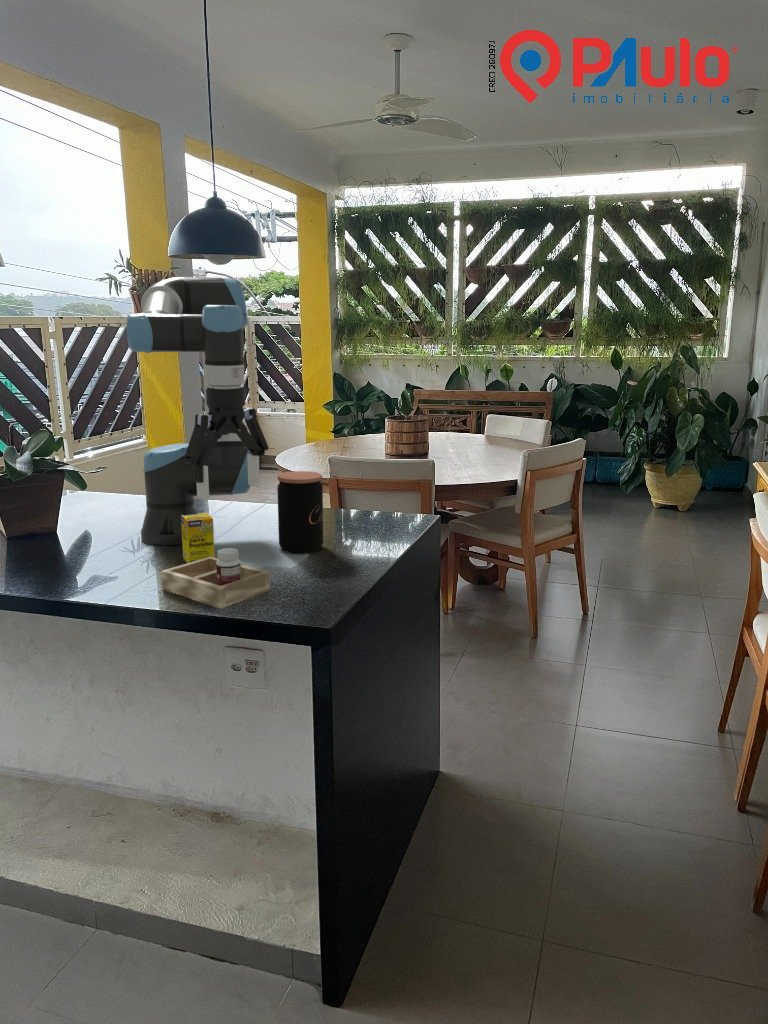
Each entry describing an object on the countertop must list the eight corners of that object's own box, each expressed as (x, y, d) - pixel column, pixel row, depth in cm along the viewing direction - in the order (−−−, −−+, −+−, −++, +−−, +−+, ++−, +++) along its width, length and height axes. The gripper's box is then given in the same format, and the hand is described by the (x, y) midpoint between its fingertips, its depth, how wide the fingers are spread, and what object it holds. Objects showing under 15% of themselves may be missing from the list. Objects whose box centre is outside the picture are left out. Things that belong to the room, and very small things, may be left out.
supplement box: (189, 568, 168) (186, 520, 166) (182, 561, 173) (180, 514, 171) (215, 565, 171) (213, 517, 168) (208, 558, 176) (206, 512, 174)
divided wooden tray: (162, 589, 155) (161, 571, 154) (211, 573, 165) (210, 556, 164) (221, 608, 144) (220, 588, 144) (269, 590, 155) (269, 572, 154)
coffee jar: (316, 555, 178) (315, 480, 174) (272, 552, 180) (270, 478, 176) (328, 543, 188) (327, 472, 184) (287, 541, 191) (285, 470, 186)
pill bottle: (219, 587, 154) (217, 547, 152) (242, 586, 155) (241, 547, 153) (215, 595, 150) (213, 554, 148) (240, 594, 150) (238, 554, 148)
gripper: (186, 393, 137) (192, 507, 143) (283, 383, 157) (285, 483, 162) (160, 390, 142) (167, 500, 147) (258, 380, 161) (261, 478, 167)
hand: (229, 491), depth 155 cm, fingers open, 13 cm apart
